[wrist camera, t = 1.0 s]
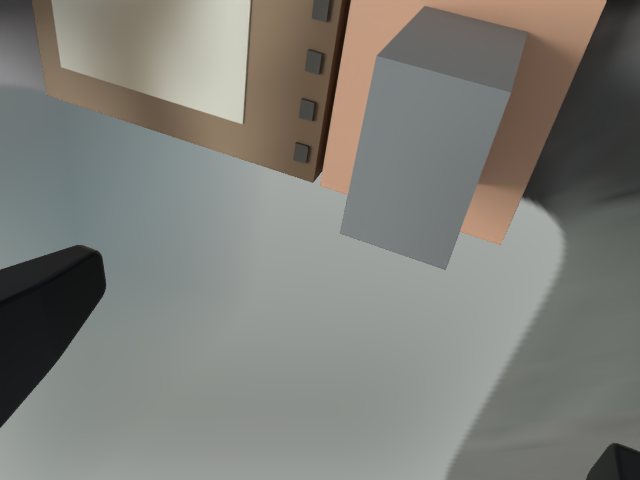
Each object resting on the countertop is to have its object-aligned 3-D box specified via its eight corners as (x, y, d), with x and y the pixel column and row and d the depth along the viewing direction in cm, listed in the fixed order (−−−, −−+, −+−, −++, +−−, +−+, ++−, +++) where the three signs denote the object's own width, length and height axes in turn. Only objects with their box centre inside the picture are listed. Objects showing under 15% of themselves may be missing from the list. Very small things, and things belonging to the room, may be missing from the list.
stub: (619, -39, 15) (635, 14, 10) (504, 230, 20) (481, 342, 16) (375, -92, 16) (295, -67, 12) (329, 173, 22) (262, 262, 17)
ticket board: (366, -94, 16) (354, -91, 16) (322, 170, 22) (311, 184, 21) (27, -169, 19) (0, -169, 18) (63, 87, 24) (44, 96, 24)
